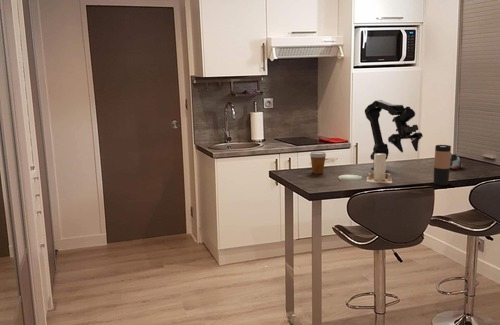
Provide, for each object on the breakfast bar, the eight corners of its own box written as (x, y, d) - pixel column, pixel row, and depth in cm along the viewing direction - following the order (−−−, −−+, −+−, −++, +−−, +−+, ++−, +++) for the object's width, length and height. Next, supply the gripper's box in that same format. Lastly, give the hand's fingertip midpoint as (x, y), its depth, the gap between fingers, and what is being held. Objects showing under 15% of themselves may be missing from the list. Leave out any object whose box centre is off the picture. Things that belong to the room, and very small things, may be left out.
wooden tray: (366, 178, 262) (367, 172, 261) (391, 179, 259) (391, 173, 258) (366, 183, 250) (366, 177, 249) (392, 185, 246) (392, 178, 246)
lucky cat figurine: (463, 170, 281) (455, 150, 277) (443, 176, 286) (434, 157, 282) (461, 158, 293) (453, 139, 289) (441, 164, 299) (433, 146, 295)
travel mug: (430, 182, 252) (432, 145, 248) (444, 181, 252) (446, 144, 249) (437, 185, 244) (439, 147, 240) (451, 184, 245) (454, 146, 241)
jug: (373, 178, 258) (374, 153, 255) (384, 178, 256) (385, 153, 254) (373, 181, 250) (374, 155, 247) (385, 182, 248) (386, 156, 246)
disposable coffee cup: (315, 175, 273) (316, 154, 271) (306, 172, 281) (306, 152, 279) (329, 173, 277) (329, 153, 275) (319, 170, 286) (319, 150, 283)
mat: (334, 177, 266) (334, 175, 265) (354, 175, 270) (354, 173, 270) (346, 182, 254) (346, 180, 253) (366, 180, 258) (367, 178, 258)
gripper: (395, 120, 251) (403, 147, 246) (424, 118, 257) (432, 144, 252) (384, 128, 261) (391, 155, 256) (412, 127, 267) (420, 152, 262)
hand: (409, 151), depth 256 cm, fingers open, 9 cm apart
